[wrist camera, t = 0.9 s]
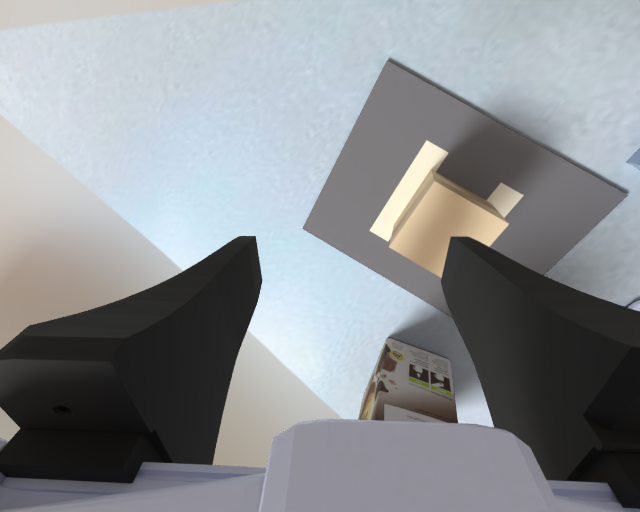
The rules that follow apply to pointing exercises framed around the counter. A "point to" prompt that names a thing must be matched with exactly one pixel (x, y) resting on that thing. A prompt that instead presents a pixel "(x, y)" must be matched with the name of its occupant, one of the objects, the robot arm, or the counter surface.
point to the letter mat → (458, 166)
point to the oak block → (442, 222)
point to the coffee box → (409, 387)
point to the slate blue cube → (635, 159)
